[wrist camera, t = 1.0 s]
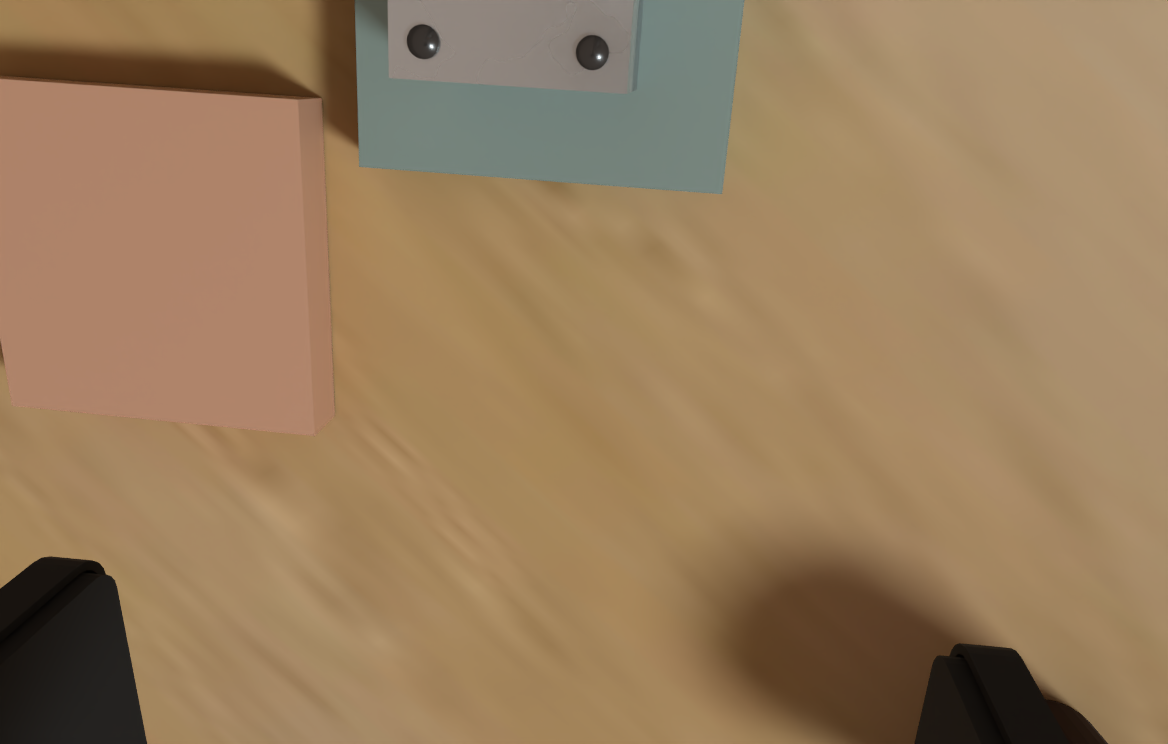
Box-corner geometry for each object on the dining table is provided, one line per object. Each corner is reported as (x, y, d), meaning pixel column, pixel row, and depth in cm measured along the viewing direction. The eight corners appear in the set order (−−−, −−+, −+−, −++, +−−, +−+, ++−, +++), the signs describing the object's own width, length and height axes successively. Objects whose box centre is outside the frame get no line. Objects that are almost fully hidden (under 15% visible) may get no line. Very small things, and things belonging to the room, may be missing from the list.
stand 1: (-3, 75, 30) (-47, 75, 29) (321, 97, 30) (297, 99, 28) (48, 387, 34) (12, 405, 33) (334, 415, 34) (314, 435, 32)
